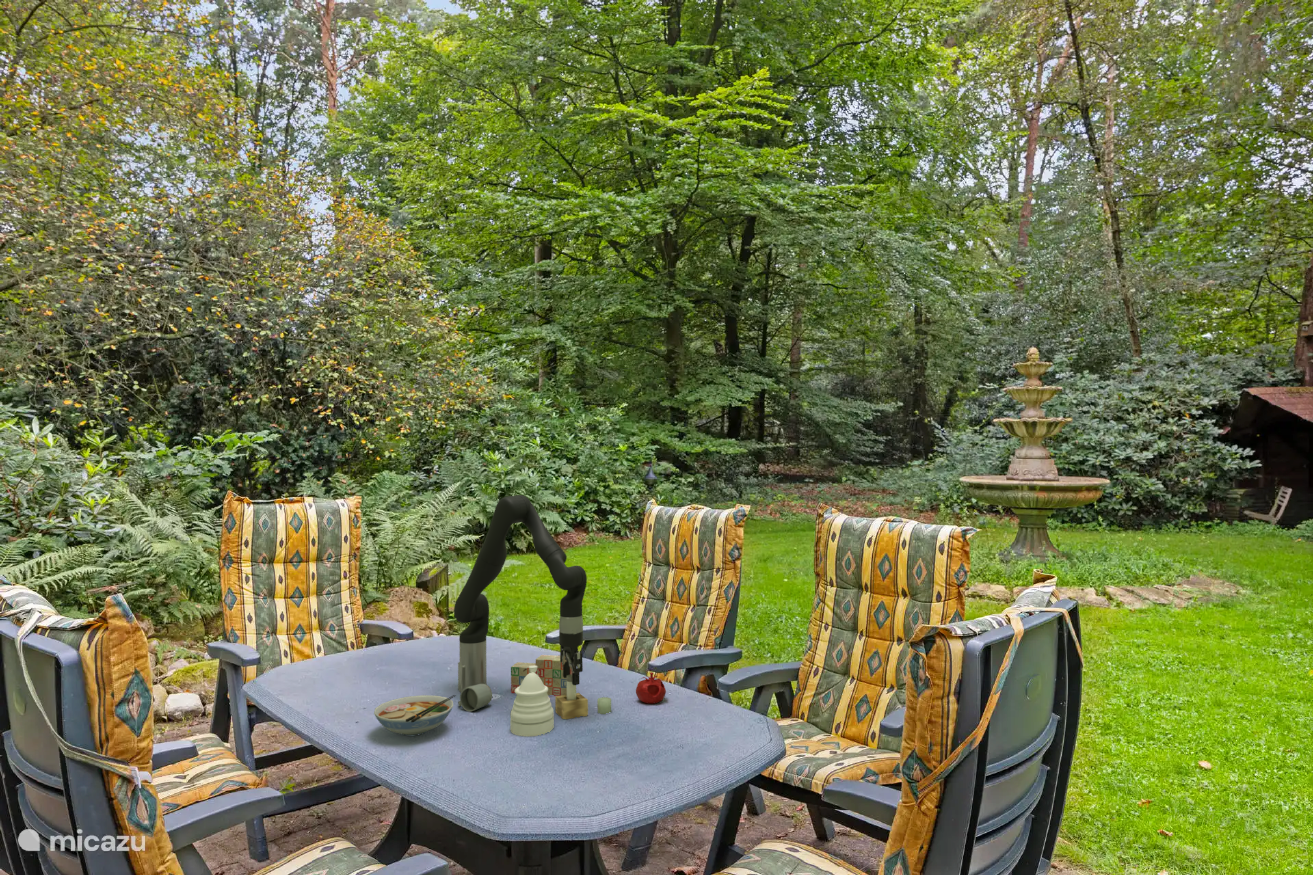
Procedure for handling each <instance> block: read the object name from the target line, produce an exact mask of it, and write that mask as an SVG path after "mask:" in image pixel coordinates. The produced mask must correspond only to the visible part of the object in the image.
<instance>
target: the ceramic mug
mask: <svg viewBox="0 0 1313 875" xmlns="http://www.w3.org/2000/svg"><path fill="white" fill-rule="evenodd" d="M492 699H493V692H492V689H491V687H490V686H489V685H488V684H487V685H486V684H478V685H474V686H470V687H467V688H465V689H464V690H463V691H462V692H460V695H459V700H458V703H457V704H458V707H462V709H463V710H465V711H466V712H469V713H471V712H475V711H477V710H479V709H480V708H481V709H482V708H484V707H486V706H487V705H489V704H490V703H491V701H492Z"/></svg>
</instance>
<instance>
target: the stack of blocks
mask: <svg viewBox="0 0 1313 875" xmlns="http://www.w3.org/2000/svg"><path fill="white" fill-rule="evenodd" d="M529 666H537V671H536V672H535V674H537V675H538V676H539V677H540V679H541V680H542V682H543V684H544V685H545V686H547V687H548V692H547V694H548V696H550V695H554V696H553V697H555V696H561V695H567V678H564V677H563V666H562V662H560V654H559V655H549V654H541V655H539V656H538V657H537V658H536V659H535V662H521V661H520V662H516V663H514V664H513V665H512V666H510V684H511V685H510V693H511V694H516V693H515V689H516V688H517V687H519V686H520V685H521V683H522V681H523V680H524V678H525V677H526V676H527V675H528V674H529V673H531V672H530V670H529ZM571 674H572V669H571V667H570V675H571Z"/></svg>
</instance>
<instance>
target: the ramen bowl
mask: <svg viewBox="0 0 1313 875" xmlns="http://www.w3.org/2000/svg"><path fill="white" fill-rule="evenodd" d="M456 696H457V694H453V695H451V696H449V697H445V696H439V695H426V694H425V695H424V694H423V695H411V696H405V697H400V698H396V699H391V700H389V701H385V702H383V703H380V704H379V705H378V706H377V707H375V708H374V713H373V715H374V716H375V718H376V720H378V723H380V725H381V726H383V728H385V729H387V730H388V731H390V732H392V733H395V734H400V735H402V736H406V735H415V736H419V735H418V734H420V735H423V734H425V733H427V732H428V731H431V730H434V729H435V728H437V727H439V726H440V725H441V724H442V723H443V722H444V721H445V720H446V719H447V718H448V716H449V715H450V713H451V712H452V709H453V707H454V701H453V700H452V699H453V698H455V697H456ZM422 733H423V734H422Z"/></svg>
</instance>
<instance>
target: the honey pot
mask: <svg viewBox="0 0 1313 875" xmlns="http://www.w3.org/2000/svg"><path fill="white" fill-rule="evenodd" d="M529 670H530V672H531V673H529V674H528V675H527V676H526V677H525V678H524V680H523V681H522V683H521V685H520V686H519V687H517V688H516V689H515V693H514V694H515V695H516V696H515V699H514V701H513V705H512V709H511V711H510V727H509V728H510V729H509V730H510V732H511V733H512V734H513V735H516V736H519V737H538V735H539V736H542V735H541V734H543V735H546V734H545V733H547V732H549V733H551V732H552V731H553V730H554V729H553V728H555V727H554V726H555V723H554V722H555V721H554V719H555V715H554V711H555V710H554V707H552V702H551V697H549V696H550V695H548V694H547V692H548V687H547V686H545V685H544V684H543V682H542V680H541V679H540V677H539V676H538V675H537V674H535V672H536V671H537V666H529ZM552 729H553V730H552ZM551 730H552V731H551ZM550 731H551V732H550ZM547 734H548V733H547Z"/></svg>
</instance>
